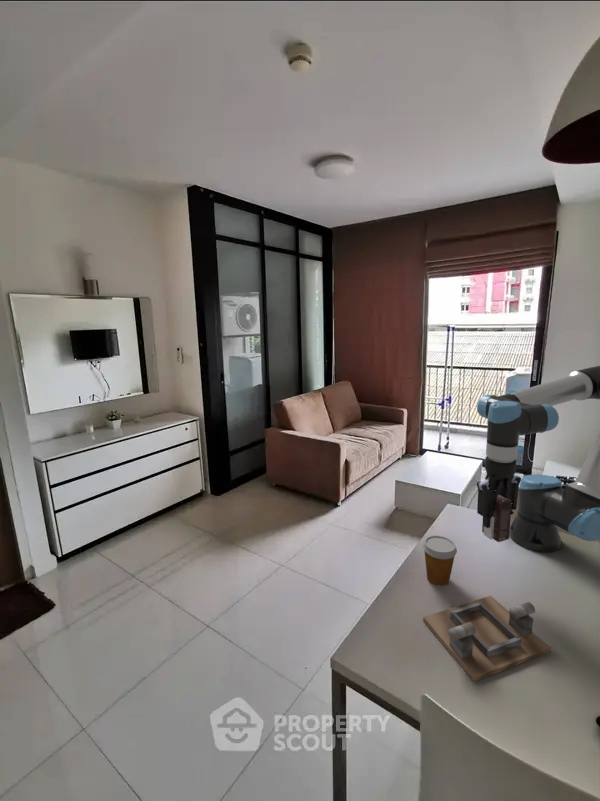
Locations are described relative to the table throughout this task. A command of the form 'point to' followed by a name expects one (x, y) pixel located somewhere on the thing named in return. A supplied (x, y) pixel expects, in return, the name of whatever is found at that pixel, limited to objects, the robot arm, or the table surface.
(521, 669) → the table surface
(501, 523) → the box
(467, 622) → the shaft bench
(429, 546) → the disposable coffee cup
